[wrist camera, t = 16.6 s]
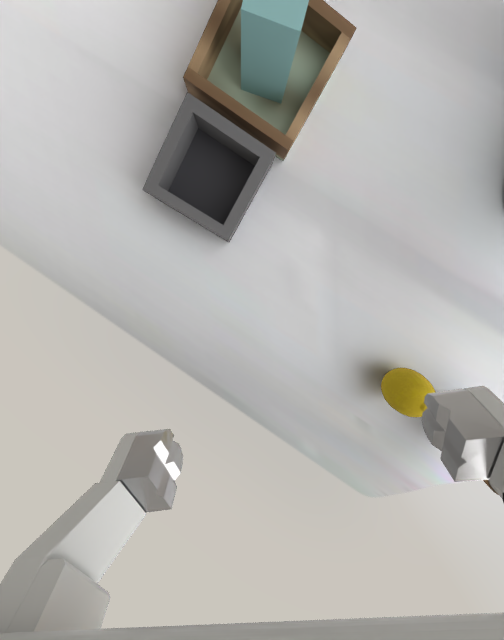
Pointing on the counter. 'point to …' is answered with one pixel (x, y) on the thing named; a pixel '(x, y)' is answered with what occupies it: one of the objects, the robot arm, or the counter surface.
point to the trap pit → (208, 168)
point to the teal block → (269, 44)
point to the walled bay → (303, 82)
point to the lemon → (406, 391)
